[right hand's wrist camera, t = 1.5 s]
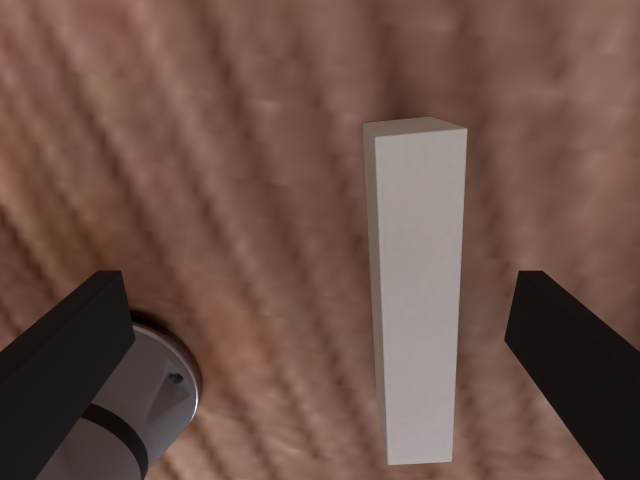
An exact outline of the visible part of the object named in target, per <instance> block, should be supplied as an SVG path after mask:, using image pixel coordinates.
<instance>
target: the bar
mask: <svg viewBox="0 0 640 480" xmlns="http://www.w3.org/2000/svg"><path fill="white" fill-rule="evenodd" d="M362 125H363V144H364V164H365V183H366V203H367V222H368V242H369V261H370V281H371V300H372V320H373V339H374V358H375V378H376V393H377V400H378V406H379V412H380V418H381V425H382V431H383V437H384V444H385V450H386V456H387V462H388V465H395V464H414V463H434V462H451V461H452V446H453V424H454V403H455V382H456V360H457V339H458V318H459V296H460V275H461V254H462V232H463V211H464V190H465V168H466V147H467V128H464V127H461V126H458V125H455V124H452V123H449V122H446V121H443V120H440V119H437V118H434V117H431V116H430V117H419V118H409V119H399V120H388V121H378V122H368V123H363V124H362Z"/></svg>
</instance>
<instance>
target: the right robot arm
mask: <svg viewBox="0 0 640 480" xmlns="http://www.w3.org/2000/svg"><path fill="white" fill-rule="evenodd" d="M504 341H505V342H506V343H507V345H508V346H509V348H510V349H511V350H512V352H513V353H514V355H515V356H516V357H517V359H518V360H519V361H520V363H521V364H522V366H523V367H524V368H525V370H526V371H527V373H528V374H529V375H530V377H531V378H532V379H533V381H534V382H535V384H536V385H537V386H538V388H539V389H540V391H541V392H542V393H543V395H544V396H545V397H546V399H547V400H548V402H549V403H550V404H551V406H552V407H553V409H554V410H555V411H556V413H557V414H558V415H559V417H560V418H561V420H562V421H563V422H564V424H565V425H566V427H567V428H568V429H569V431H570V432H571V433H572V435H573V436H574V438H575V439H576V440H577V442H578V443H579V445H580V446H581V447H582V449H583V450H584V451H585V453H586V454H587V456H588V457H589V458H590V460H591V461H592V463H593V464H594V465H595V467H596V468H597V469H598V471H599V472H600V474H601V475H602V476H603V478H604V479H605V480H640V352H639V351H638V350H637V349H635V348H634V347H633V346H632V345H631V344H629V343H628V342H627V341H626V340H625V339H623V338H622V337H621V336H620V335H619V334H617V333H616V332H615V331H614V330H613V329H612V328H610V327H609V326H608V325H607V324H606V323H604V322H603V321H602V320H601V319H600V318H598V317H597V316H596V315H595V314H594V313H592V312H591V311H590V310H589V309H588V308H586V307H585V306H584V305H583V304H582V303H580V302H579V301H578V300H577V299H576V298H574V297H573V296H572V295H571V294H570V293H568V292H567V291H566V290H565V289H564V288H562V287H561V286H560V285H559V284H558V283H556V282H555V281H554V280H553V279H552V278H550V277H549V276H548V275H547V274H546V273H544V272H543V271H519V273H518V278H517V282H516V287H515V292H514V296H513V301H512V306H511V311H510V315H509V320H508V325H507V329H506V334H505V339H504ZM201 394H202V378H201V373H200V370H199V367H198V365H197V363H196V361H195V359H194V357H193V356H192V354H191V353H190V351H189V350H188V349H187V348H186V346H185V345H184V344H183V343H182V342H181V341H180V340H178V339H177V338H176V337H175V336H174V335H172V334H171V333H170V332H168V331H167V330H165V329H163V328H162V327H160V326H158V325H156V324H154V323H152V322H149V321H147V320H144V319H141V318H138V317H134V316H131V315H130V311H129V306H128V301H127V296H126V292H125V287H124V282H123V278H122V273H121V271H97V272H96V273H94V274H93V275H92V276H91V277H90V278H88V279H87V280H86V281H85V282H84V283H82V284H81V285H80V286H79V287H78V288H76V289H75V290H74V291H73V292H72V293H70V294H69V295H68V296H67V297H66V298H64V299H63V300H62V301H61V302H60V303H58V304H57V305H56V306H55V307H54V308H52V309H51V310H50V311H49V312H48V313H46V314H45V315H44V316H43V317H42V318H40V319H39V320H38V321H37V322H36V323H34V324H33V325H32V326H31V327H30V328H28V329H27V330H26V331H25V332H24V333H23V334H21V335H20V336H19V337H18V338H17V339H15V340H14V341H13V342H12V343H11V344H9V345H8V346H7V347H6V348H5V349H3V350H2V351H1V352H0V480H144V478H145V476H146V474H147V472H148V470H149V468H150V467H151V466H152V465H153V464H154V463H155V462H156V461H157V460H158V458H159V457H160V456H161V455H162V454H163V453H164V452H165V451H166V450H167V448H168V447H169V446H170V445H171V444H172V443H173V442H174V441H175V440H176V438H177V437H178V436H179V435H180V434H181V433H182V432H183V431H184V429H185V428H186V427H187V426H188V425H189V423H190V422H191V420H192V418H193V416H194V414H195V411H196V409H197V406H198V404H199V401H200V398H201Z"/></svg>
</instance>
